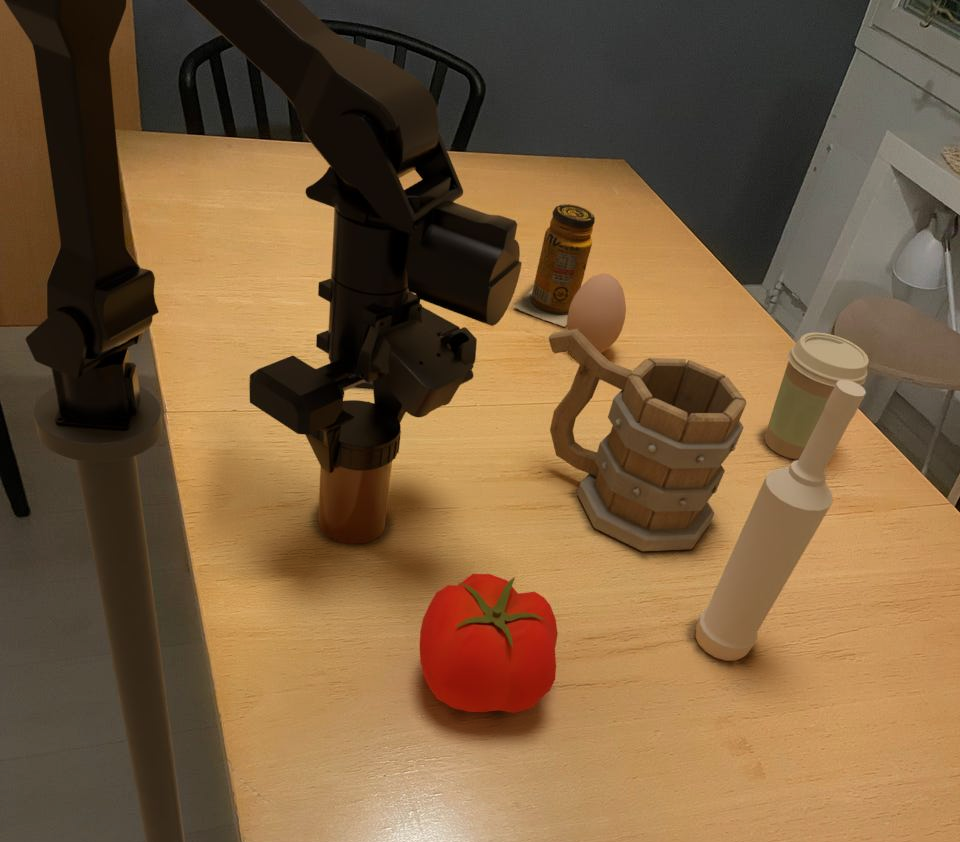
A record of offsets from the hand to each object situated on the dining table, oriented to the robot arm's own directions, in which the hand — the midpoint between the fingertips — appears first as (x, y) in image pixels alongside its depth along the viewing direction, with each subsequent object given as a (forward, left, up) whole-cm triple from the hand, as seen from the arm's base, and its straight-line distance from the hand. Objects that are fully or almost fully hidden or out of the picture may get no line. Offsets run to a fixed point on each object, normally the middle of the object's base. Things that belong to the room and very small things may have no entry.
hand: (356, 455), depth 77 cm
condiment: (+26, +47, -8) cm, 54 cm away
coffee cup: (+50, +19, -8) cm, 54 cm away
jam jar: (0, 0, -7) cm, 7 cm away
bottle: (+32, -13, -8) cm, 35 cm away
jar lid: (0, 0, +3) cm, 3 cm away
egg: (+29, +36, -8) cm, 47 cm away
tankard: (+26, +7, -8) cm, 28 cm away
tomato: (+10, -19, -8) cm, 23 cm away
